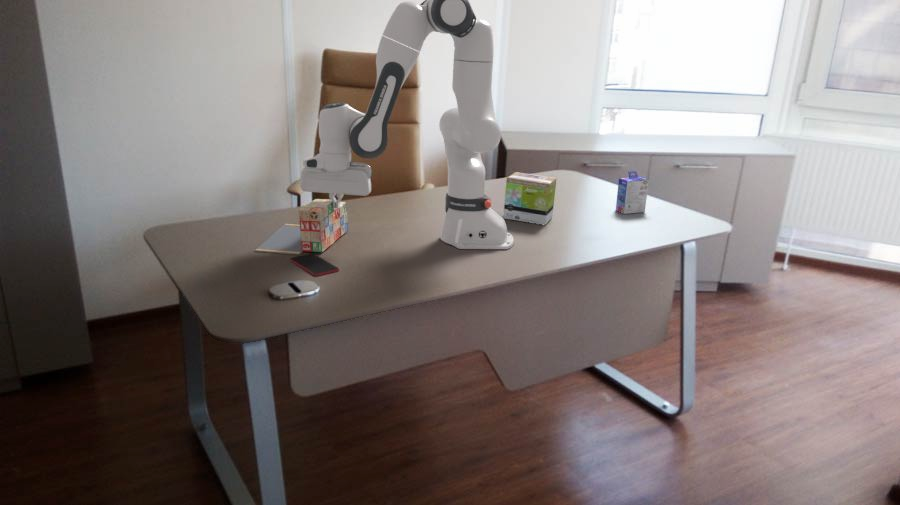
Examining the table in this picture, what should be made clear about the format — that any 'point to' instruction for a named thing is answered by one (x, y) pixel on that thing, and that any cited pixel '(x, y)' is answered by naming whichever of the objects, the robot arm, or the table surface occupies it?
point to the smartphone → (314, 264)
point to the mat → (283, 241)
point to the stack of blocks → (321, 224)
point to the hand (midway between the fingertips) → (336, 207)
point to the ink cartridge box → (632, 194)
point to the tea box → (529, 198)
